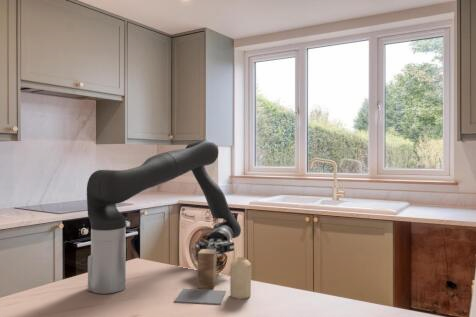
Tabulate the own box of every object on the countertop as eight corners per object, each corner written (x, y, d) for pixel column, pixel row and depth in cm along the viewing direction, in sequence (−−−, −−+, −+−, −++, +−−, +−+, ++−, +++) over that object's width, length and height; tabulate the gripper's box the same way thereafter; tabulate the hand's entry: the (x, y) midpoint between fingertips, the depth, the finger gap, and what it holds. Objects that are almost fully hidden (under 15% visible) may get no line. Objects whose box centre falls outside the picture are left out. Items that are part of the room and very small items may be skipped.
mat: (174, 302, 99) (174, 300, 99) (183, 289, 108) (183, 288, 108) (220, 304, 97) (220, 303, 97) (225, 291, 106) (225, 290, 106)
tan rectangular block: (197, 288, 109) (198, 253, 109) (201, 282, 113) (201, 248, 113) (213, 289, 108) (213, 253, 108) (216, 283, 113) (216, 249, 113)
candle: (248, 299, 100) (249, 261, 100) (228, 298, 102) (228, 260, 101) (252, 292, 106) (252, 256, 106) (232, 290, 107) (232, 255, 107)
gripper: (200, 228, 132) (188, 239, 115) (238, 229, 131) (231, 241, 114) (200, 250, 132) (187, 264, 115) (238, 251, 131) (231, 266, 114)
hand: (209, 252), depth 114 cm, fingers closed
